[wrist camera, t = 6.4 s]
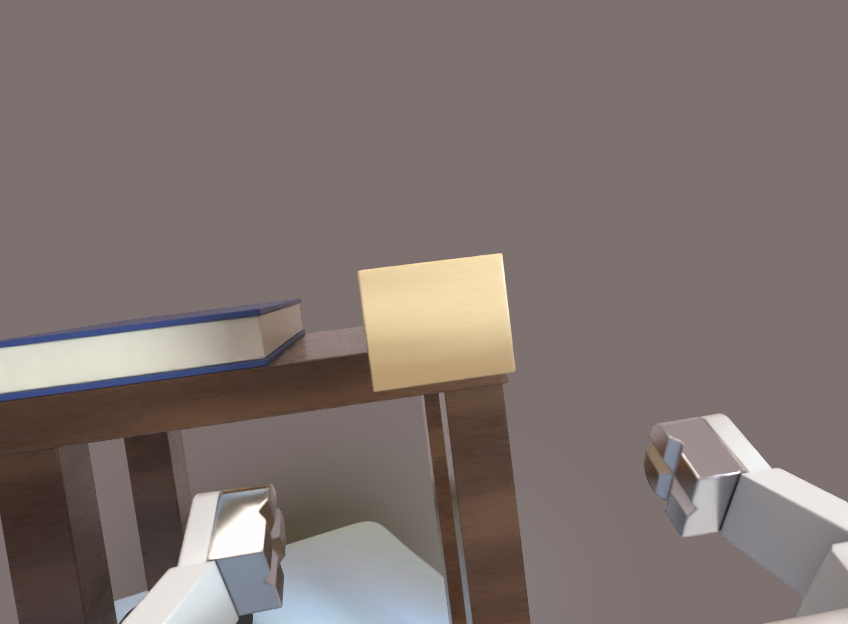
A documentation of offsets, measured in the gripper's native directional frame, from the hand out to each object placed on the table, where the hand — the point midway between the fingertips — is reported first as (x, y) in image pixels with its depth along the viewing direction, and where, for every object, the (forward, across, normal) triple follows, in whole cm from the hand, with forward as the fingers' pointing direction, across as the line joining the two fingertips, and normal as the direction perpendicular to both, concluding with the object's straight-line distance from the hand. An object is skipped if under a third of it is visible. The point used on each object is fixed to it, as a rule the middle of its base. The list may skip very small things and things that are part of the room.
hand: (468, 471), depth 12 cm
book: (+16, -11, -8) cm, 21 cm away
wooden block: (+13, 0, -6) cm, 14 cm away
